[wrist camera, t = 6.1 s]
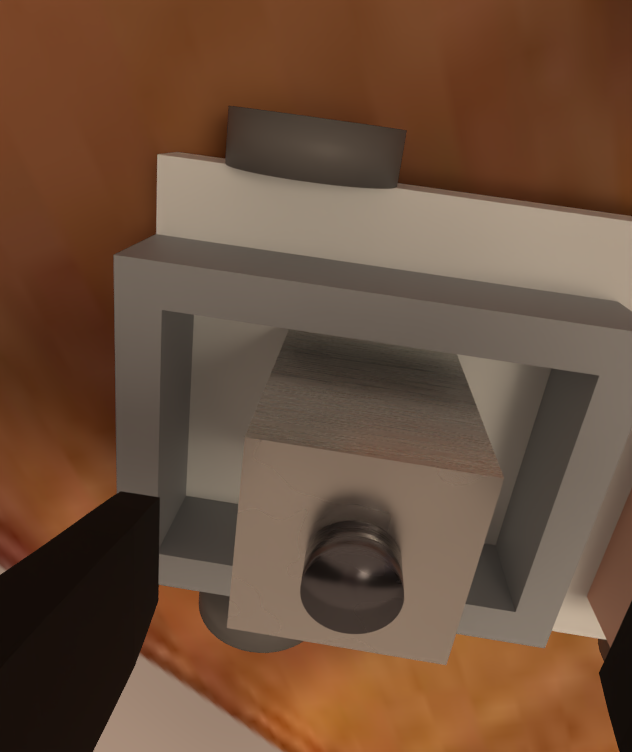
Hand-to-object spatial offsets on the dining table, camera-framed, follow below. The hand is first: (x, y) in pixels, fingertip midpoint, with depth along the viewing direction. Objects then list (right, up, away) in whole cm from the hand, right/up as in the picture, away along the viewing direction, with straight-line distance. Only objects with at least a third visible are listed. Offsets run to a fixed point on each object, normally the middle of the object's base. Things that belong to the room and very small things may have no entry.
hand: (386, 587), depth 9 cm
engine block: (0, +2, +6) cm, 7 cm away
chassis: (+5, +2, +9) cm, 10 cm away
